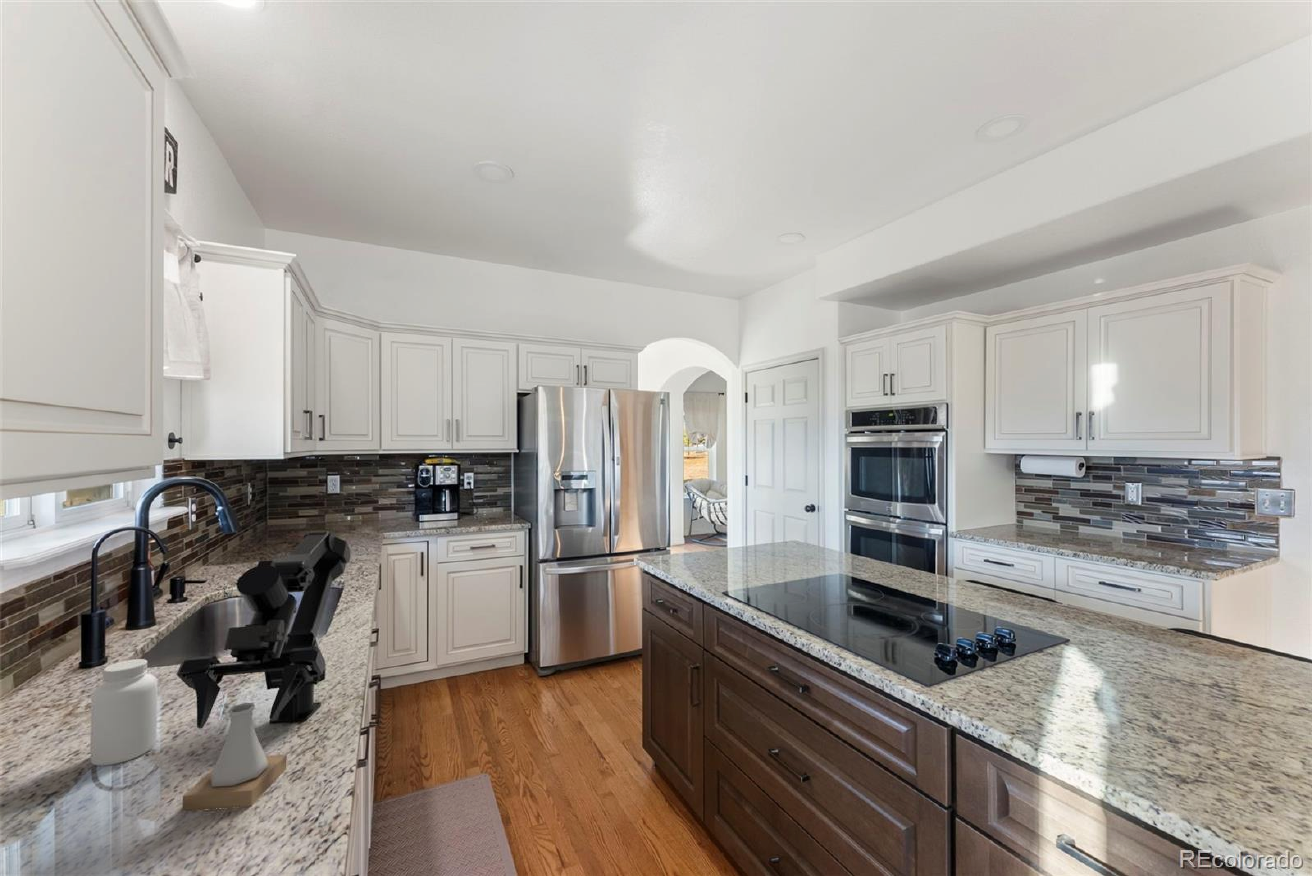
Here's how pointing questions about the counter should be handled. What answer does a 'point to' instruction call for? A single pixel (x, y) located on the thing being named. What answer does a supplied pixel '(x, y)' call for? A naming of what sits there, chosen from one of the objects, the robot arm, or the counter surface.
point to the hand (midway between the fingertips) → (236, 723)
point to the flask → (239, 750)
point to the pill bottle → (123, 713)
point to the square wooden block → (233, 789)
